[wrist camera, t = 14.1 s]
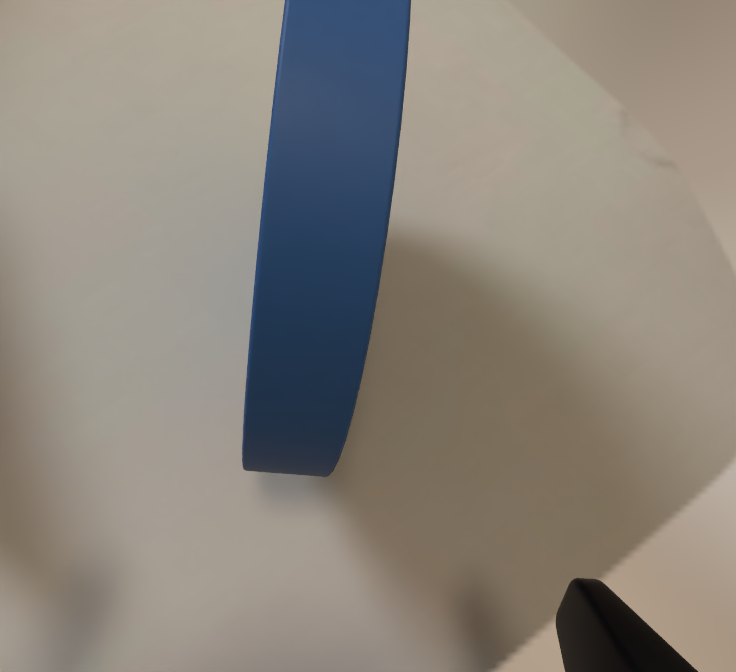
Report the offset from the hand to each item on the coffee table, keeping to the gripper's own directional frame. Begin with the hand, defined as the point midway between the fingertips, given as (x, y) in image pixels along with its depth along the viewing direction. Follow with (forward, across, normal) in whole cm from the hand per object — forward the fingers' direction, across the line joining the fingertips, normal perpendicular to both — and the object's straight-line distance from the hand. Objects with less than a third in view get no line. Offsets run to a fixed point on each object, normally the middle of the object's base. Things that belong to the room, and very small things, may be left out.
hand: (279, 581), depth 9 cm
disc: (+10, 0, 0) cm, 10 cm away
